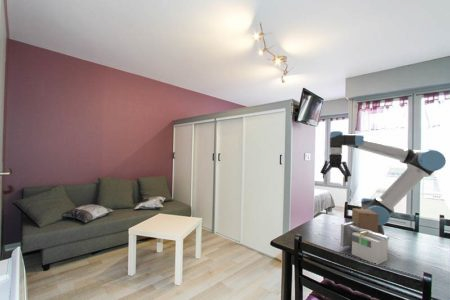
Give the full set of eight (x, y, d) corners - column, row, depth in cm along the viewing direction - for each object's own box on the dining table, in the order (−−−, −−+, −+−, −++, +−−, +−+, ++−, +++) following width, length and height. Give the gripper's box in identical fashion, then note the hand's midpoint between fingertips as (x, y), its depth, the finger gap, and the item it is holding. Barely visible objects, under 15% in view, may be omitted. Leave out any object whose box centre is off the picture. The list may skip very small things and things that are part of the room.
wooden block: (377, 250, 116) (378, 214, 116) (357, 247, 118) (359, 212, 118) (369, 242, 126) (370, 209, 126) (350, 240, 128) (352, 208, 128)
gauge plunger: (352, 242, 121) (353, 221, 121) (392, 257, 104) (393, 233, 104) (339, 246, 115) (340, 224, 115) (380, 263, 98) (381, 237, 98)
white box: (361, 250, 116) (362, 230, 116) (387, 260, 105) (387, 238, 105) (351, 253, 110) (351, 233, 110) (376, 265, 100) (377, 242, 100)
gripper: (315, 153, 151) (314, 182, 151) (351, 154, 129) (350, 188, 129) (322, 153, 155) (321, 182, 155) (357, 154, 133) (356, 187, 133)
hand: (334, 185), depth 142 cm, fingers open, 13 cm apart
